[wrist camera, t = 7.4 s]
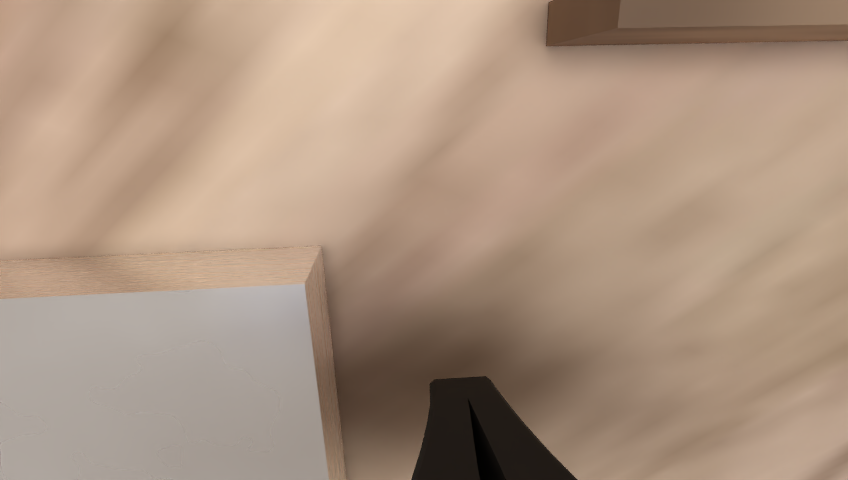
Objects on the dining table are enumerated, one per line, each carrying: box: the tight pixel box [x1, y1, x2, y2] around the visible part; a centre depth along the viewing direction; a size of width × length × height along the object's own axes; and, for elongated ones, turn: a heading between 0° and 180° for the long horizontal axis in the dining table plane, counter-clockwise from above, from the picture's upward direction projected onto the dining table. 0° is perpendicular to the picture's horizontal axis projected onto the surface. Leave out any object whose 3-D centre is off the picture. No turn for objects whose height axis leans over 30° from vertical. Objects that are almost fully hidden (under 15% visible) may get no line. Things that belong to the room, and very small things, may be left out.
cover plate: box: [0, 246, 346, 480], centre depth 10 cm, size 8×8×2 cm
